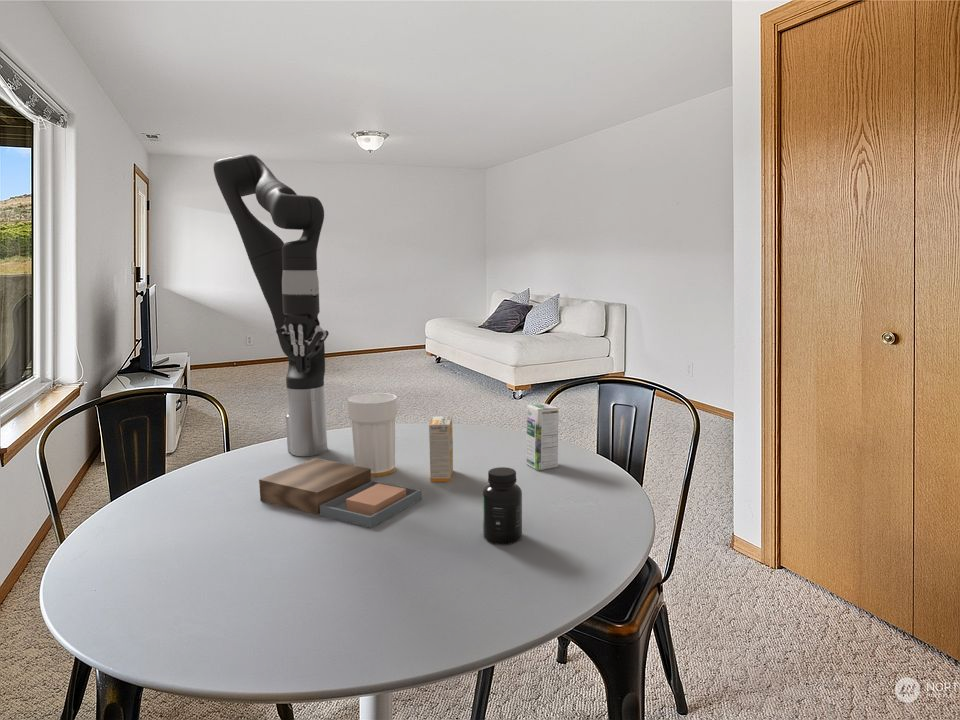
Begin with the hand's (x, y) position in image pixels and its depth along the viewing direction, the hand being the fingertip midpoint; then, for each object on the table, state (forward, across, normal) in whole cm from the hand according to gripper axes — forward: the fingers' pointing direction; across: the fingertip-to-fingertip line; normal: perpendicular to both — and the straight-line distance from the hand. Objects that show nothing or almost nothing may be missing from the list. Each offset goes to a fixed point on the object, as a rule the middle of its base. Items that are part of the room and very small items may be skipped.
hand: (303, 372), depth 137 cm
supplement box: (+24, +25, +16) cm, 39 cm away
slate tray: (+24, +22, -6) cm, 33 cm away
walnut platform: (+25, +7, -5) cm, 26 cm away
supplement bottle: (+24, +51, -8) cm, 57 cm away
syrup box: (+24, +43, +32) cm, 59 cm away
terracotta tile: (+21, +23, -6) cm, 32 cm away
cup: (+25, +9, +13) cm, 29 cm away
